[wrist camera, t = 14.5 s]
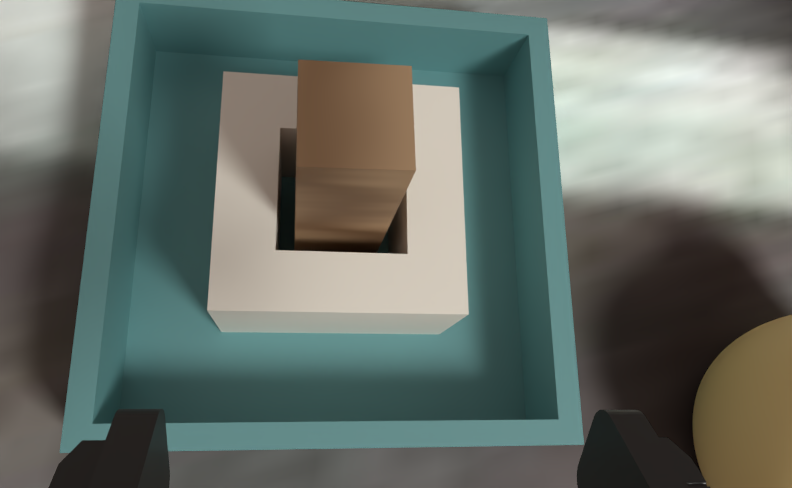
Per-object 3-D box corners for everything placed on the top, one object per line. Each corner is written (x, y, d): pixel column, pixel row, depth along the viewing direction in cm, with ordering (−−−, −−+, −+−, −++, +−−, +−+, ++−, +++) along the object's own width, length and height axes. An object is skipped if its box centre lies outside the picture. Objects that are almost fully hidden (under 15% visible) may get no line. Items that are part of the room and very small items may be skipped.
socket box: (516, 67, 37) (558, -1, 31) (543, 443, 31) (600, 445, 25) (139, 39, 34) (108, -43, 28) (94, 450, 28) (45, 453, 22)
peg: (369, 195, 32) (411, 65, 21) (370, 266, 32) (415, 170, 20) (295, 193, 32) (298, 59, 21) (293, 265, 31) (296, 166, 20)
